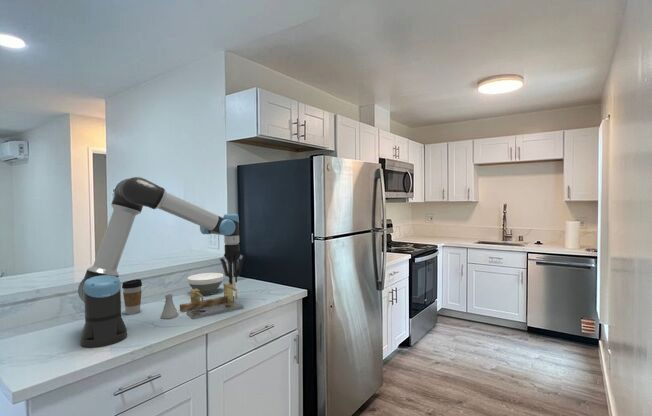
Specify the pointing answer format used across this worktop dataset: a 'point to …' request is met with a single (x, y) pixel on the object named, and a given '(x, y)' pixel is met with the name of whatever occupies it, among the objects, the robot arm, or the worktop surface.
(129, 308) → the coffee cup
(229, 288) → the slider leg
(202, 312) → the hole plate
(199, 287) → the bowl
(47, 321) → the worktop surface
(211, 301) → the rail
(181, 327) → the worktop surface
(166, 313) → the flask
